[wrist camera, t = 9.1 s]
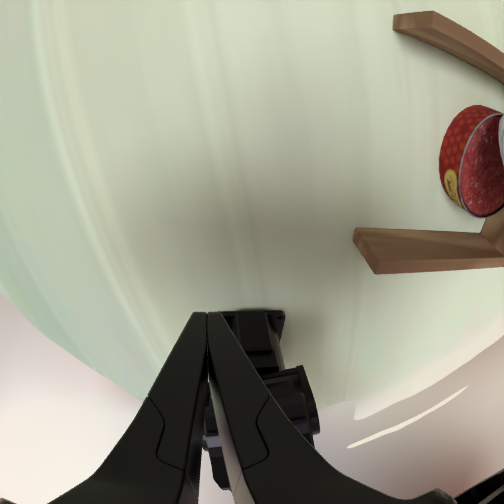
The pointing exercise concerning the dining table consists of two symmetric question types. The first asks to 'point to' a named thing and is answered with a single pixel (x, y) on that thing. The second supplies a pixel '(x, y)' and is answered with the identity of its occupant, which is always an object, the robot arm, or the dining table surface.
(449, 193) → the canned food
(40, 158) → the dining table surface
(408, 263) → the shelf bay
